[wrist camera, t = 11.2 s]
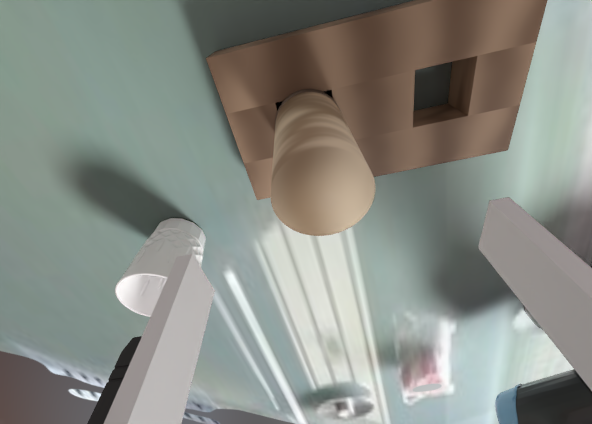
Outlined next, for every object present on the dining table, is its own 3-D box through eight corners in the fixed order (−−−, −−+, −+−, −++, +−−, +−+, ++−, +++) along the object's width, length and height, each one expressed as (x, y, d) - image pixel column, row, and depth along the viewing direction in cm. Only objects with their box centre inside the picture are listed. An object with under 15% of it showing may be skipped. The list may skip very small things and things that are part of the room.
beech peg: (330, 71, 27) (373, 135, 14) (338, 132, 30) (378, 226, 18) (269, 86, 27) (256, 160, 15) (283, 144, 31) (283, 243, 18)
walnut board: (517, -26, 23) (555, -31, 20) (484, 135, 31) (507, 150, 28) (215, 51, 25) (205, 58, 22) (259, 181, 34) (257, 199, 30)
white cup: (218, 252, 41) (202, 313, 33) (166, 260, 41) (138, 322, 33) (197, 209, 36) (173, 268, 28) (139, 218, 36) (99, 279, 28)
